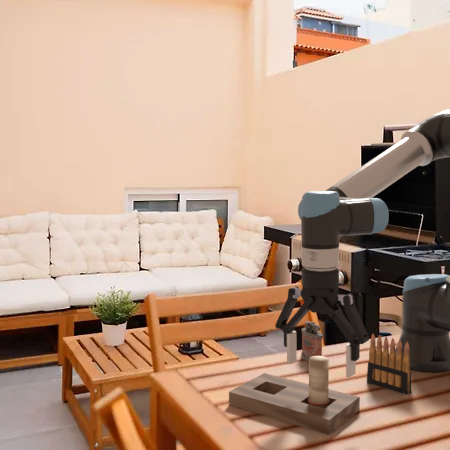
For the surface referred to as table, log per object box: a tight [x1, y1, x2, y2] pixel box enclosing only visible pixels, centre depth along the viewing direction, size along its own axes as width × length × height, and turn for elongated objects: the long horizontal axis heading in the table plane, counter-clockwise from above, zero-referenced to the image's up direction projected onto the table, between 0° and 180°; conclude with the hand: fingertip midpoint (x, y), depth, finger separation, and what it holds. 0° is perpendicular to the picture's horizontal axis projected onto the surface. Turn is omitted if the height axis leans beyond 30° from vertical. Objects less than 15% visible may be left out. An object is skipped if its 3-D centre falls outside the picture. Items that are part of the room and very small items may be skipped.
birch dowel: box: [308, 355, 330, 409], centre depth 125 cm, size 4×4×12 cm
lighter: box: [300, 320, 324, 362], centre depth 160 cm, size 8×3×10 cm, turn 23°
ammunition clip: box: [366, 333, 412, 396], centre depth 140 cm, size 11×2×12 cm, turn 44°
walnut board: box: [228, 372, 361, 436], centre depth 129 cm, size 14×24×3 cm, turn 53°
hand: (320, 368), depth 125 cm, fingers open, 13 cm apart
